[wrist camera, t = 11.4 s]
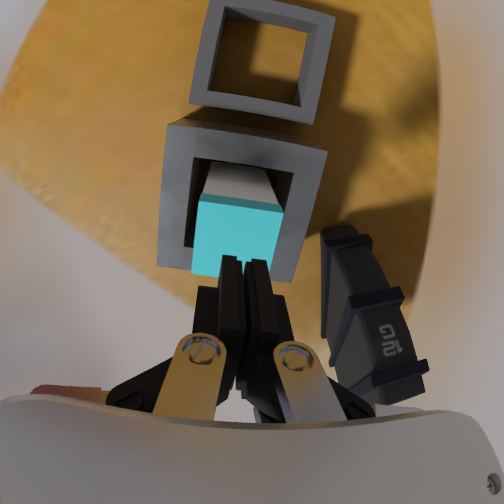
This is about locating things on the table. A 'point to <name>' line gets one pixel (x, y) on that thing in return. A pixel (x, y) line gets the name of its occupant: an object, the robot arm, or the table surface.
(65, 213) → the table surface
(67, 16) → the table surface
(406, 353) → the magazine
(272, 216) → the plug
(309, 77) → the grey square frame
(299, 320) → the table surface
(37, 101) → the table surface
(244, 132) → the port block
